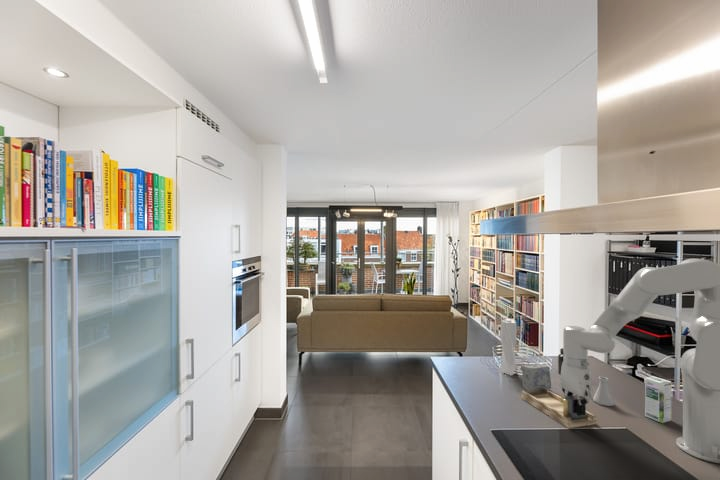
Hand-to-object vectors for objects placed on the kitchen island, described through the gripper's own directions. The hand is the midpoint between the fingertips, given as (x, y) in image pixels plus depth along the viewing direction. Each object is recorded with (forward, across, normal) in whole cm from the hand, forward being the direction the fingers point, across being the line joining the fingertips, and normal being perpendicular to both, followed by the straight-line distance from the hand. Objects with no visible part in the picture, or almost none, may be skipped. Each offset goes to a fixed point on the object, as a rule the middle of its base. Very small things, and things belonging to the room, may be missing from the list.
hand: (575, 411), depth 126 cm
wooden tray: (+4, +9, 0) cm, 10 cm away
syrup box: (+4, -5, -32) cm, 33 cm away
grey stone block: (+4, +28, -7) cm, 29 cm away
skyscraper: (+4, +47, -7) cm, 48 cm away
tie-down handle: (+2, 0, 0) cm, 2 cm away
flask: (+4, +10, -24) cm, 26 cm away
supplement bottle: (+4, +39, -34) cm, 52 cm away
